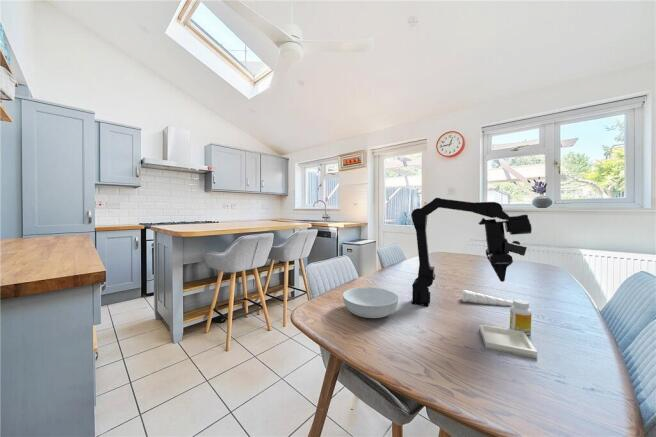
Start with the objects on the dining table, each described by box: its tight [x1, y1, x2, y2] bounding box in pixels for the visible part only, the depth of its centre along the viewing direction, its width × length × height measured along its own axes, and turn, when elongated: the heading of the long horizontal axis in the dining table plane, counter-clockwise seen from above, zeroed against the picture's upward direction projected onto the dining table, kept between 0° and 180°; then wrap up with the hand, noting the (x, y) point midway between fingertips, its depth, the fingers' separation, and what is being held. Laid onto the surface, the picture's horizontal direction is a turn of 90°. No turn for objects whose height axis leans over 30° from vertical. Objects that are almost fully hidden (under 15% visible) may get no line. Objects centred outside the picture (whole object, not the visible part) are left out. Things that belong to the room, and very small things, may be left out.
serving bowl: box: [342, 286, 399, 319], centre depth 93 cm, size 21×21×7 cm
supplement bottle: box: [509, 298, 532, 336], centre depth 79 cm, size 5×5×10 cm
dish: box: [479, 323, 538, 359], centre depth 72 cm, size 12×12×2 cm
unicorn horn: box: [461, 289, 514, 307], centre depth 100 cm, size 5×24×5 cm, turn 67°
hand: (500, 278), depth 89 cm, fingers open, 9 cm apart
